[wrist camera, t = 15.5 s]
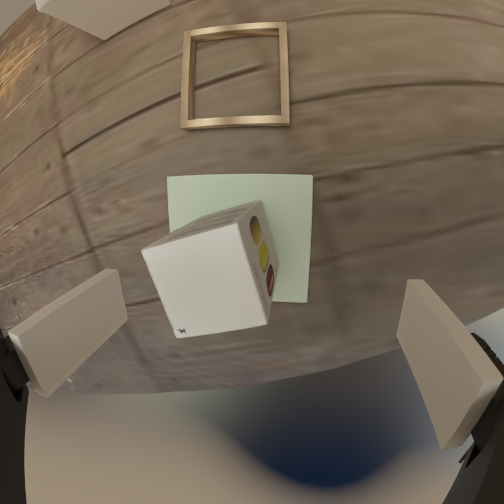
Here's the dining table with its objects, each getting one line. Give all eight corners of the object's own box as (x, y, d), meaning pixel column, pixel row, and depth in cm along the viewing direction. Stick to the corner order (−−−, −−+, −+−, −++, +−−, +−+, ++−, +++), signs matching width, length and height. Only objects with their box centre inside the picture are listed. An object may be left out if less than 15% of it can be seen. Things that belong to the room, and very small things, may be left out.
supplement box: (281, 264, 40) (271, 329, 24) (219, 278, 42) (176, 343, 26) (261, 197, 37) (237, 220, 21) (198, 215, 39) (137, 249, 23)
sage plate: (312, 175, 36) (312, 175, 36) (306, 301, 41) (306, 302, 41) (168, 176, 39) (167, 176, 38) (177, 293, 44) (175, 294, 44)
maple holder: (286, 29, 30) (286, 22, 28) (289, 126, 35) (289, 123, 32) (190, 38, 32) (184, 31, 30) (187, 130, 36) (180, 128, 34)
